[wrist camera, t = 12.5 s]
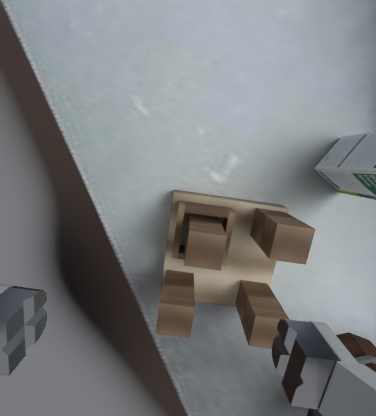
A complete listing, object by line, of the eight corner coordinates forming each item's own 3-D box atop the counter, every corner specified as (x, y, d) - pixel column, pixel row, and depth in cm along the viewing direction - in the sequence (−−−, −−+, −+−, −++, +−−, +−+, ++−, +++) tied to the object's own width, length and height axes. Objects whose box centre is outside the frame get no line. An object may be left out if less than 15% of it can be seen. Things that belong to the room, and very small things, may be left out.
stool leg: (189, 213, 32) (189, 230, 24) (218, 217, 32) (227, 236, 24) (185, 240, 33) (184, 265, 25) (213, 244, 33) (220, 270, 25)
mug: (358, 321, 38) (463, 422, 23) (386, 372, 40) (499, 495, 25) (274, 362, 40) (323, 481, 25) (305, 409, 42) (367, 544, 27)
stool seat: (174, 189, 34) (168, 203, 23) (281, 205, 34) (321, 225, 24) (161, 287, 37) (150, 336, 27) (259, 300, 37) (285, 354, 27)
